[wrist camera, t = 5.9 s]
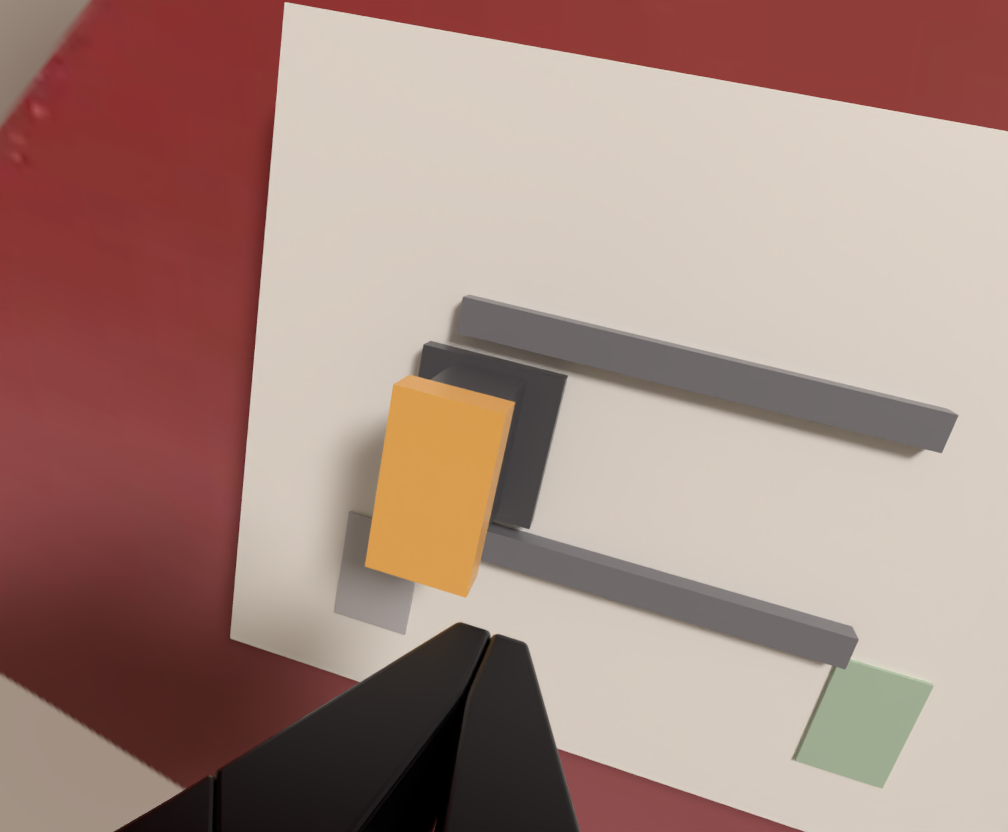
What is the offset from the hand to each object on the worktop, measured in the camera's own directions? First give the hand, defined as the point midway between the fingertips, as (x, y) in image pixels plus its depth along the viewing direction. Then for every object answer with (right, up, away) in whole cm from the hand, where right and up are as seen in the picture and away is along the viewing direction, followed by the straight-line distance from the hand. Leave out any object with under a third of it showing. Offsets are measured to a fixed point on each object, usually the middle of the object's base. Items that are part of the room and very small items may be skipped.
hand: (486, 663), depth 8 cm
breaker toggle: (0, +2, +8) cm, 8 cm away
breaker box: (+4, +2, +10) cm, 11 cm away
